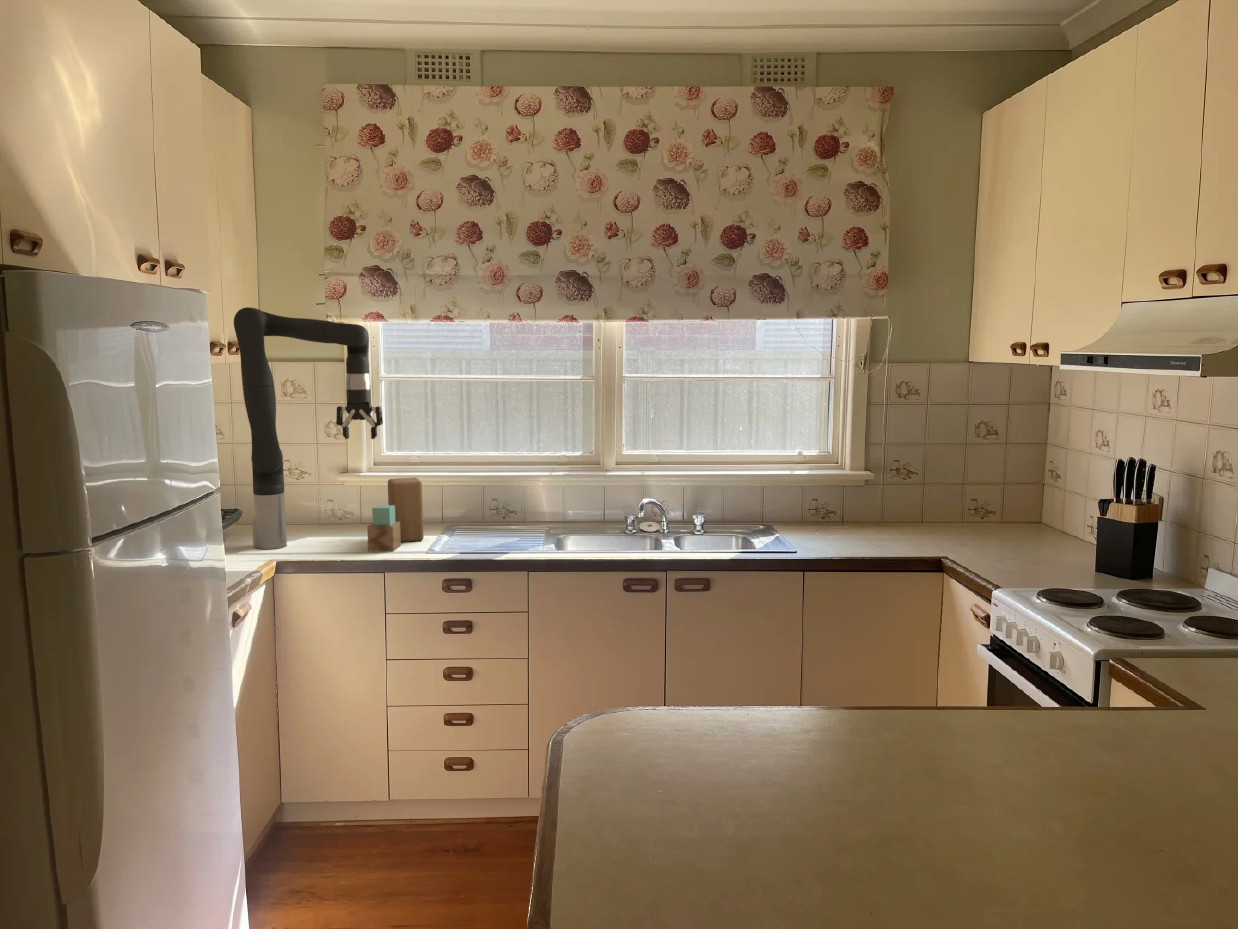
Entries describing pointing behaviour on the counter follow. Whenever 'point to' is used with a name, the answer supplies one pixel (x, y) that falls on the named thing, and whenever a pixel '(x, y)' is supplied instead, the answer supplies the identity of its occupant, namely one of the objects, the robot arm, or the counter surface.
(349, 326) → the robot arm
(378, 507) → the teal cube
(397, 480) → the block
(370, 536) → the walnut block
